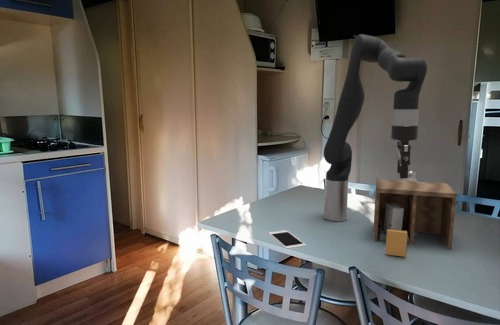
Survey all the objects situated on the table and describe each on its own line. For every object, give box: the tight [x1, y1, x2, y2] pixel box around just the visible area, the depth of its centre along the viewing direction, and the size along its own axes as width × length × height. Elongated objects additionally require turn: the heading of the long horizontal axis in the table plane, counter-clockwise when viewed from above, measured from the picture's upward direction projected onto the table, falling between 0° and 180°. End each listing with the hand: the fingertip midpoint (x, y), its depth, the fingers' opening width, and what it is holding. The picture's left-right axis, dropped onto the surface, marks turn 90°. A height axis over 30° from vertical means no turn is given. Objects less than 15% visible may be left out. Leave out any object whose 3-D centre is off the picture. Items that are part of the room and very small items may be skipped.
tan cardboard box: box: [378, 225, 408, 258], centre depth 129 cm, size 9×24×8 cm, turn 162°
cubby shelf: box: [373, 178, 457, 250], centre depth 135 cm, size 25×16×20 cm, turn 72°
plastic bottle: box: [401, 169, 419, 182], centre depth 160 cm, size 6×7×20 cm
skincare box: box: [383, 204, 404, 235], centre depth 135 cm, size 6×4×12 cm
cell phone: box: [268, 229, 307, 249], centre depth 134 cm, size 8×16×1 cm, turn 20°
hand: (402, 175), depth 116 cm, fingers open, 8 cm apart
